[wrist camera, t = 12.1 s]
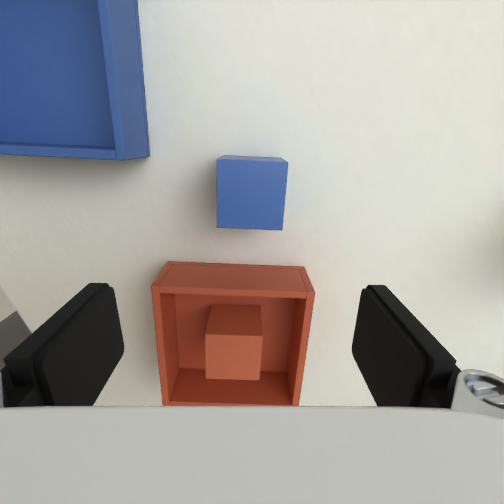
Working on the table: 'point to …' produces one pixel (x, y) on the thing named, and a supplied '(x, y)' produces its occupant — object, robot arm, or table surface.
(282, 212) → the blue block
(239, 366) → the terracotta block
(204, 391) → the terracotta bin
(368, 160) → the table surface
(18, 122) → the blue bin
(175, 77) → the table surface
